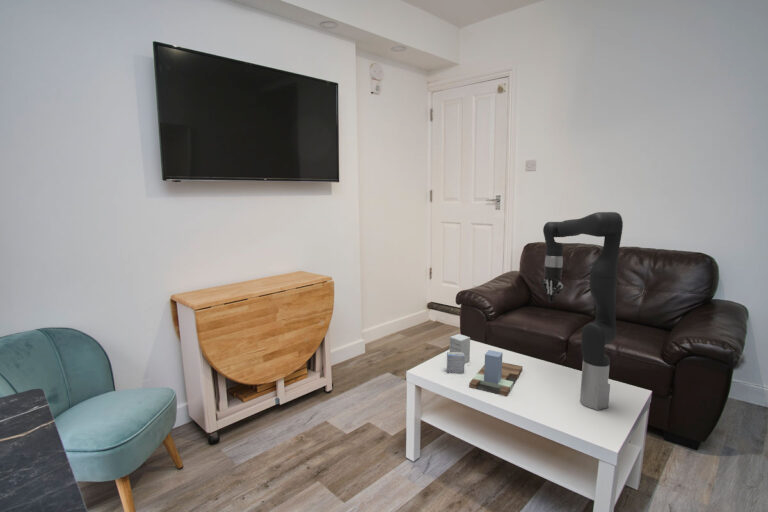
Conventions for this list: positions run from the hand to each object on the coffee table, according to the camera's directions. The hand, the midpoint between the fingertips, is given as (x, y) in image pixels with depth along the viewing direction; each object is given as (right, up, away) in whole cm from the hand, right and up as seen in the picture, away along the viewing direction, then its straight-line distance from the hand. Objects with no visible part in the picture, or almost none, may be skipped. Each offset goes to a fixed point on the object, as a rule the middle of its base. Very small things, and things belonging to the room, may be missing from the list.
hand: (551, 302), depth 186 cm
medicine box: (-44, -33, +3) cm, 55 cm away
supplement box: (-40, -31, +15) cm, 53 cm away
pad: (-30, -35, -11) cm, 47 cm away
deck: (-27, -34, -5) cm, 43 cm away
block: (-30, -33, -11) cm, 46 cm away
